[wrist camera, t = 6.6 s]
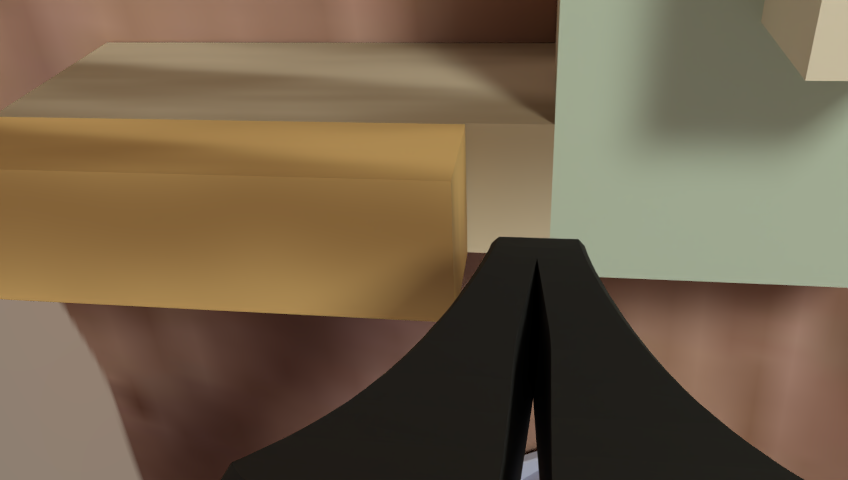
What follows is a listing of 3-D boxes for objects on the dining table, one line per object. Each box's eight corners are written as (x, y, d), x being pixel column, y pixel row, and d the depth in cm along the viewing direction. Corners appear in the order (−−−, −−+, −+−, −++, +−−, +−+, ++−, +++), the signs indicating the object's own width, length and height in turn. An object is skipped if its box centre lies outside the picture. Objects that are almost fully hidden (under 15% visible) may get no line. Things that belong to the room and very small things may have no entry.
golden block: (467, 253, 17) (455, 322, 15) (2, 235, 19) (-68, 295, 17) (465, 124, 16) (450, 181, 14) (-41, 115, 17) (-123, 166, 15)
